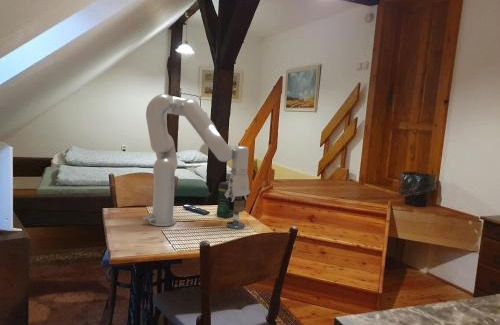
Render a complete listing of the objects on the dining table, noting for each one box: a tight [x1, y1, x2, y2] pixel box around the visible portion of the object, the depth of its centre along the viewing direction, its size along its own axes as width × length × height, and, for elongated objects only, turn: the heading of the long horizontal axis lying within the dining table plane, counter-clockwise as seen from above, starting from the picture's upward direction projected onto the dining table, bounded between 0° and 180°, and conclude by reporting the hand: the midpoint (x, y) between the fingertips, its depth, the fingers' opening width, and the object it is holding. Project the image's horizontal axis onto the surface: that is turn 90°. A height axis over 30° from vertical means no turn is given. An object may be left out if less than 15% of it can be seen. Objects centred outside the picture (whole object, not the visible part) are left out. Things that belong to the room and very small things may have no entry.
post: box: [225, 212, 246, 230], centre depth 172 cm, size 9×9×7 cm
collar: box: [230, 197, 246, 213], centre depth 171 cm, size 7×7×5 cm
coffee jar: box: [216, 180, 234, 219], centre depth 188 cm, size 10×8×19 cm
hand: (236, 208), depth 172 cm, fingers closed on collar, 7 cm apart
